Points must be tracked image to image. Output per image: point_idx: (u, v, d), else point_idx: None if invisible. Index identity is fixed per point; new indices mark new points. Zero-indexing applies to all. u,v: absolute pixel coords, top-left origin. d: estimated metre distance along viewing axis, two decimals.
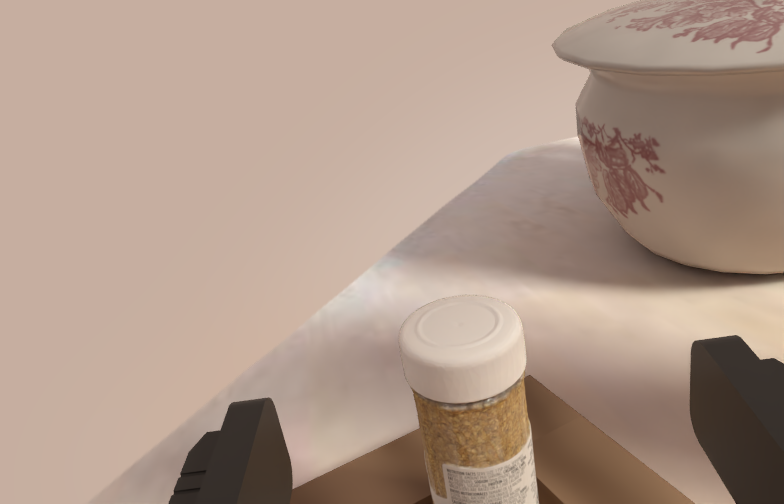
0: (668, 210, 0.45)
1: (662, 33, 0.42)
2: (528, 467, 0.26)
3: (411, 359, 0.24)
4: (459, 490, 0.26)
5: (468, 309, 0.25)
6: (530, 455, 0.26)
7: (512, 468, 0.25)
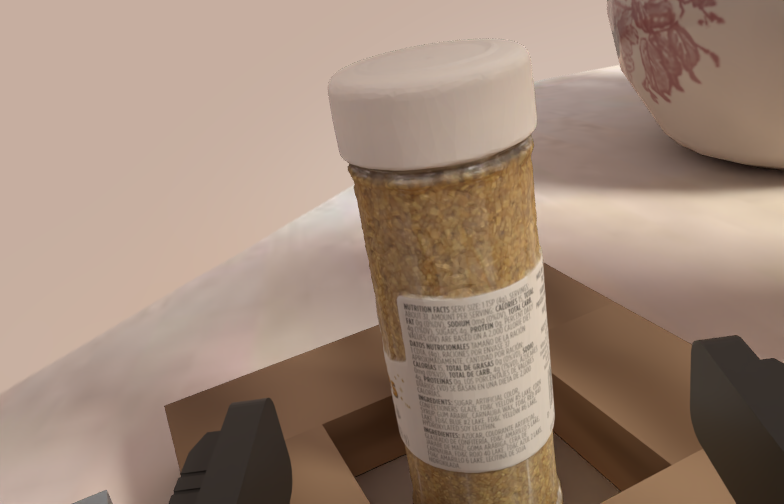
0: (726, 77, 0.35)
1: None
2: (537, 312, 0.16)
3: (342, 97, 0.14)
4: (424, 343, 0.16)
5: (444, 47, 0.16)
6: (540, 294, 0.16)
7: (511, 305, 0.16)
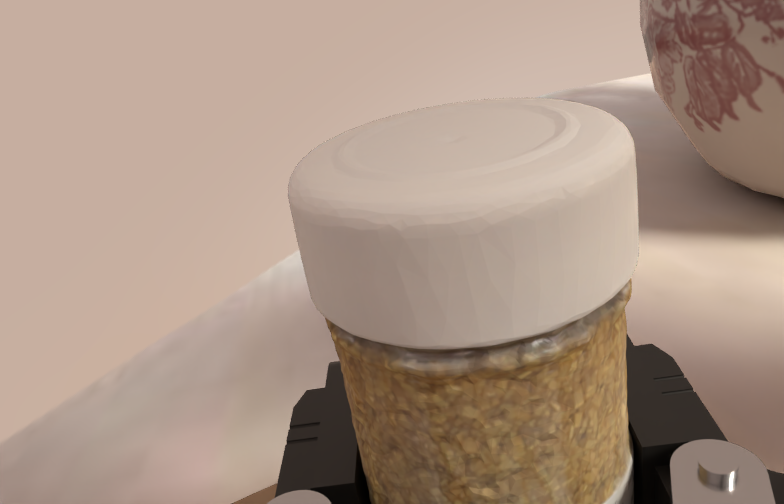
0: None
1: None
2: None
3: (309, 217, 0.08)
4: None
5: (481, 115, 0.10)
6: (631, 503, 0.10)
7: None
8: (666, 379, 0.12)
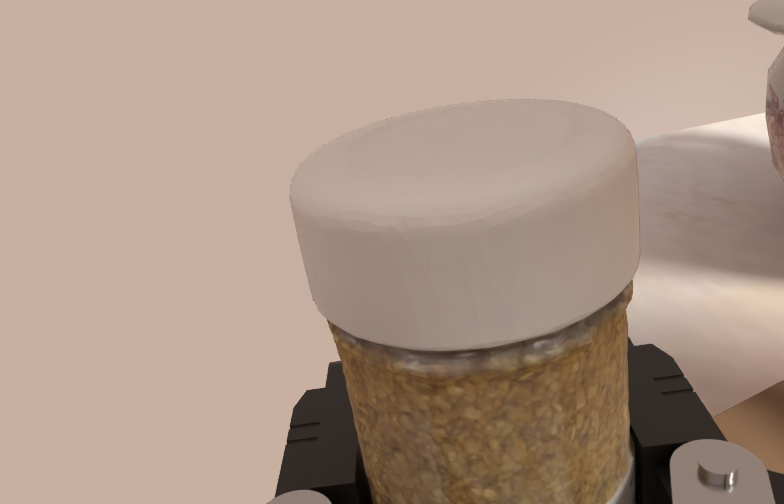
0: None
1: None
2: None
3: (311, 219, 0.08)
4: None
5: (481, 117, 0.10)
6: None
7: None
8: (666, 379, 0.12)
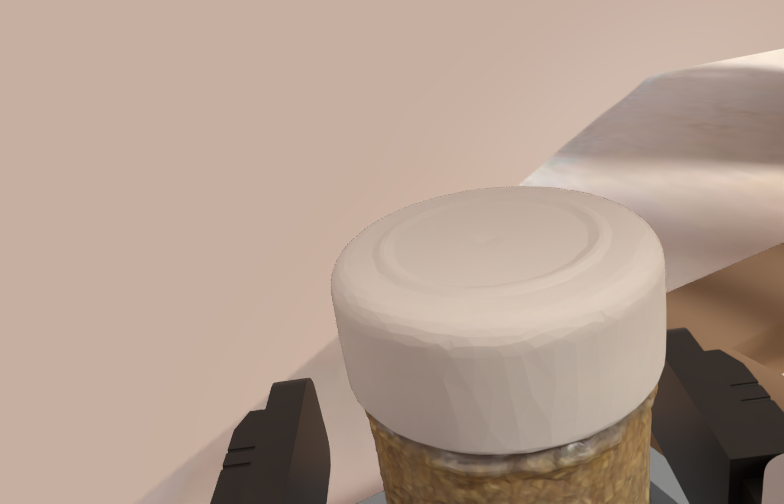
0: None
1: None
2: None
3: (356, 325, 0.08)
4: None
5: (513, 210, 0.10)
6: None
7: None
8: (740, 386, 0.11)
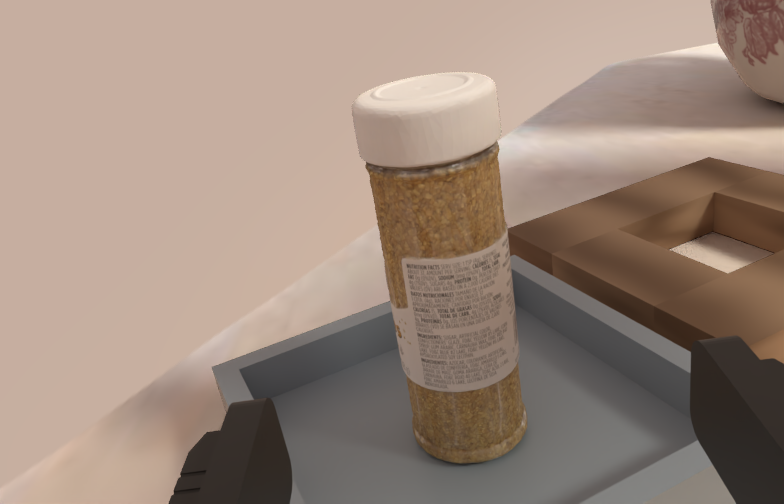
0: None
1: None
2: (504, 271, 0.22)
3: (363, 116, 0.20)
4: (421, 292, 0.22)
5: (435, 79, 0.22)
6: (505, 258, 0.22)
7: (484, 264, 0.22)
8: None
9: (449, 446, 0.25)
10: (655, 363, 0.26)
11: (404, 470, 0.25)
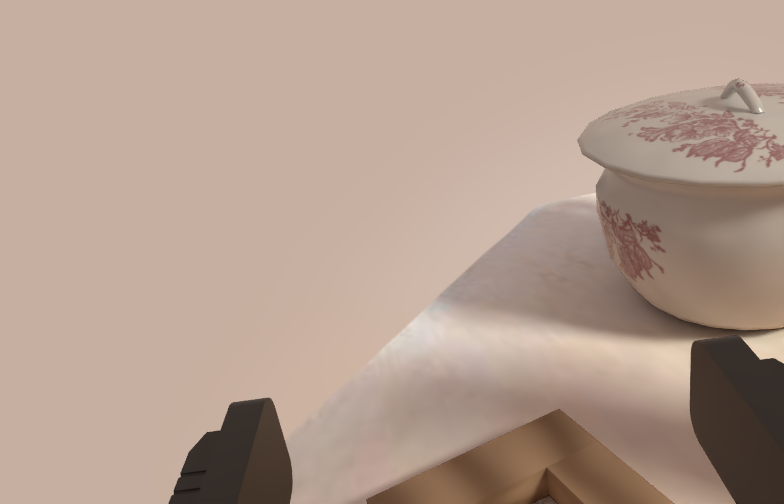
0: (668, 279, 0.57)
1: (664, 146, 0.55)
2: None
3: None
4: None
5: None
6: None
7: None
8: None
9: None
10: None
11: None
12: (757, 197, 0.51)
